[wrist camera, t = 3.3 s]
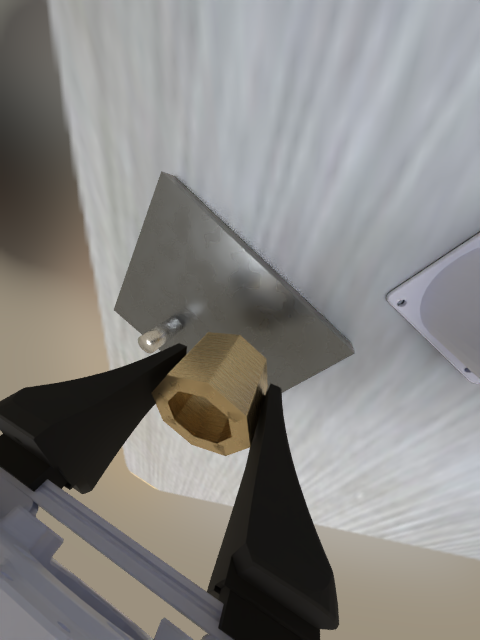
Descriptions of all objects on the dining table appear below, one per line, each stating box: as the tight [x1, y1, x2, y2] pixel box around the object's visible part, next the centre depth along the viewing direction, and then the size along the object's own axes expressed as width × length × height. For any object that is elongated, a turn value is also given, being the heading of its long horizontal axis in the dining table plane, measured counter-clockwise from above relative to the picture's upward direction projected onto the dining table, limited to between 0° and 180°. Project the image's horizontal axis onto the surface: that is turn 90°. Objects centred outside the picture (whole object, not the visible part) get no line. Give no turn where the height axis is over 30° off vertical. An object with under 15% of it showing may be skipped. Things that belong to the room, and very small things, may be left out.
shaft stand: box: [114, 171, 354, 395], centre depth 17 cm, size 20×16×6 cm
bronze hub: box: [152, 332, 268, 456], centre depth 11 cm, size 5×5×4 cm
